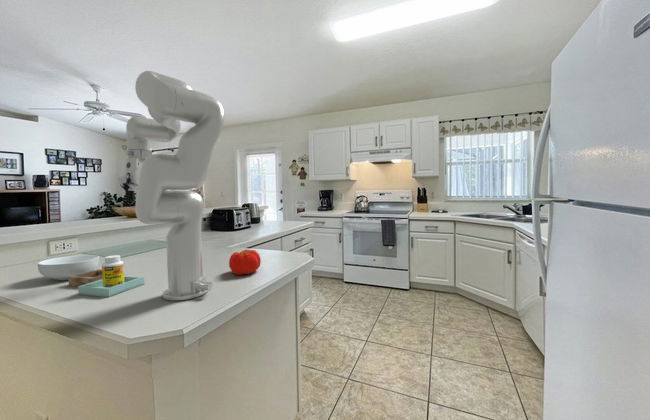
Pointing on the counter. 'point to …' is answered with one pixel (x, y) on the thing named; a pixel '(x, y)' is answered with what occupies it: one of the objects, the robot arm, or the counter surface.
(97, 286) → the tray
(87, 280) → the socket block
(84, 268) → the cereal bowl
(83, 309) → the counter surface
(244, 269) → the tomato
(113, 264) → the supplement bottle
